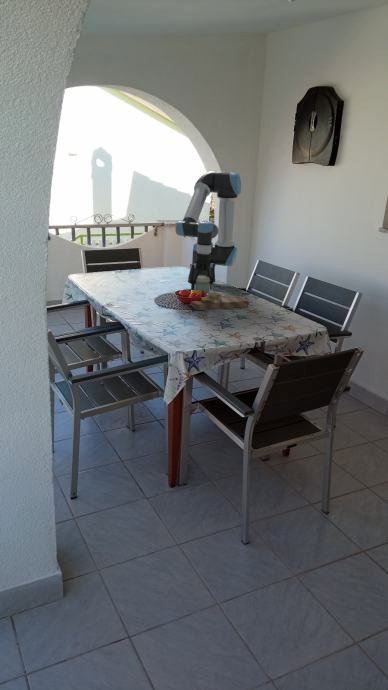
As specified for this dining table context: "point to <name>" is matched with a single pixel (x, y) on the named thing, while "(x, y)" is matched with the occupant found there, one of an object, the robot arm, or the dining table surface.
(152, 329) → the dining table surface
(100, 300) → the dining table surface
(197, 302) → the board
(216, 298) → the gauge
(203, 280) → the coffee cup
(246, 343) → the dining table surface
